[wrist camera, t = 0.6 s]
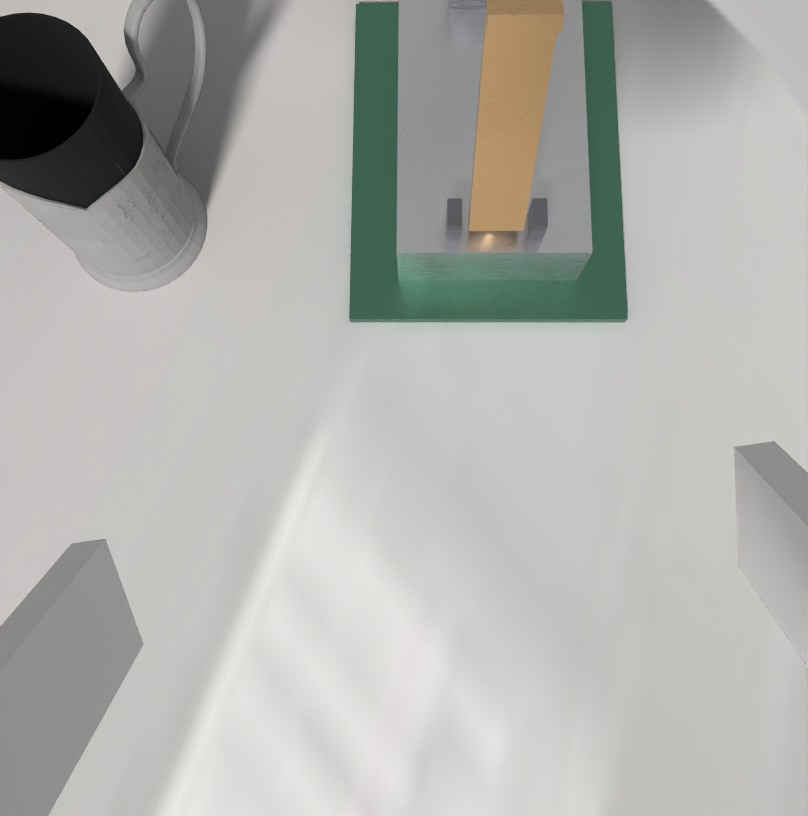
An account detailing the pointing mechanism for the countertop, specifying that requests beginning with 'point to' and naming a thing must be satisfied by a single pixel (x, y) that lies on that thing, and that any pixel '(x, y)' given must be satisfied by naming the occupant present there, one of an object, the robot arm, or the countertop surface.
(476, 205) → the tan rectangular bar
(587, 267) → the green base fixture
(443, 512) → the countertop surface
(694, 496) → the countertop surface
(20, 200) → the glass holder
